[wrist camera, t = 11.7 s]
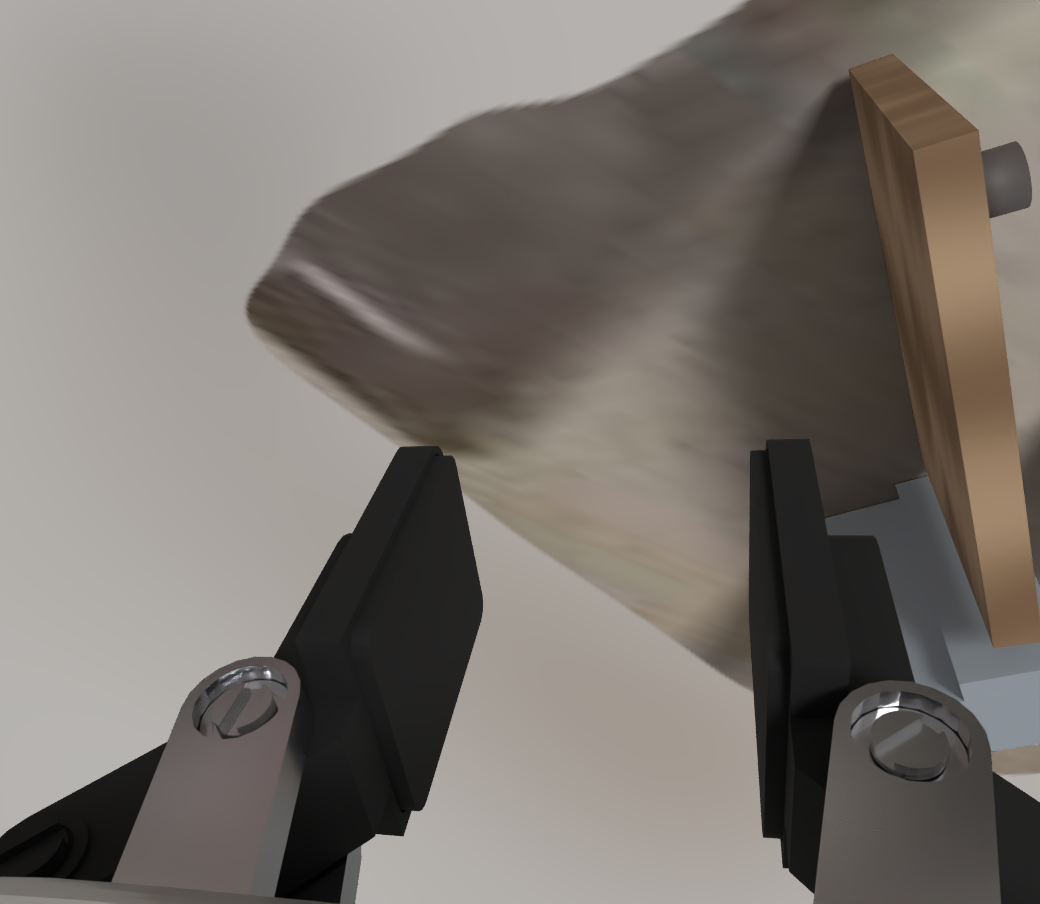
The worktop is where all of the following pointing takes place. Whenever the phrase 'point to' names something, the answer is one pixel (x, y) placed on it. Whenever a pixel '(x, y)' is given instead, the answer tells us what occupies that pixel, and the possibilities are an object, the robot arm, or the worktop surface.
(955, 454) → the door
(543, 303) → the worktop surface
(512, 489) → the worktop surface
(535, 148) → the worktop surface
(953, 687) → the door frame
